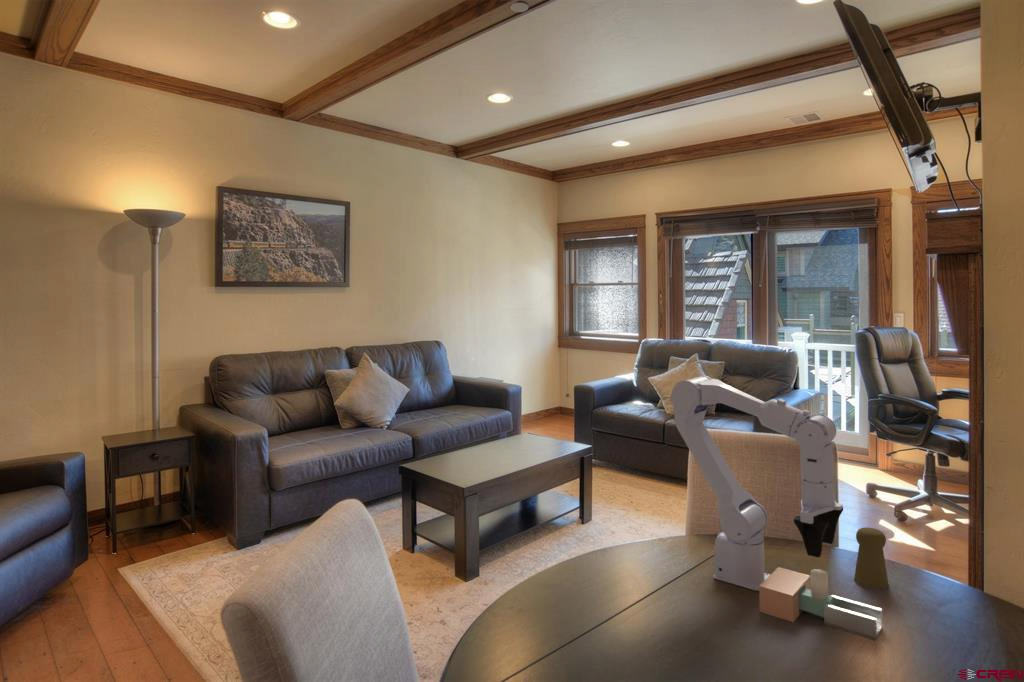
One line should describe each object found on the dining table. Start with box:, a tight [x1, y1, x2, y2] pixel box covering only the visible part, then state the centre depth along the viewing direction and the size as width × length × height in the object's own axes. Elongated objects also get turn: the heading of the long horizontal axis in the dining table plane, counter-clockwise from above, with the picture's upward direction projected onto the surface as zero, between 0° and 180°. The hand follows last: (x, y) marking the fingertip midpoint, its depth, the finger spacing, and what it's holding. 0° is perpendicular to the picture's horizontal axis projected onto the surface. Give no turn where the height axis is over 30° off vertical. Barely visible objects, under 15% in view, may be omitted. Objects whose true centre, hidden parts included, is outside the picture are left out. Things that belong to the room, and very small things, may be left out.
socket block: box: [758, 566, 811, 623], centre depth 113 cm, size 6×10×5 cm, turn 136°
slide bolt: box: [799, 568, 834, 617], centre depth 110 cm, size 8×3×8 cm, turn 46°
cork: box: [853, 527, 889, 590], centre depth 120 cm, size 6×6×11 cm
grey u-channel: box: [823, 594, 883, 641], centre depth 105 cm, size 8×5×4 cm, turn 46°
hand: (820, 548), depth 113 cm, fingers open, 7 cm apart
